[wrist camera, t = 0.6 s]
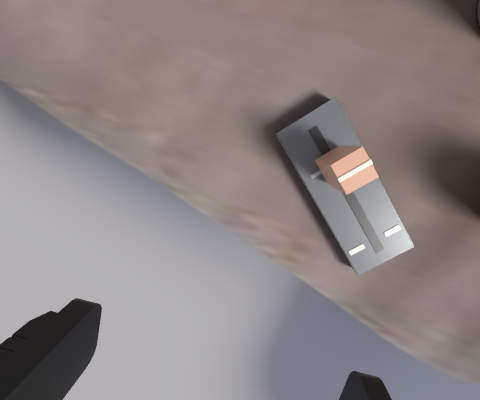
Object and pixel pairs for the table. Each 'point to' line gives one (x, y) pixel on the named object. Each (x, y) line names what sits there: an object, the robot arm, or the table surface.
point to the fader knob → (347, 168)
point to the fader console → (336, 202)
